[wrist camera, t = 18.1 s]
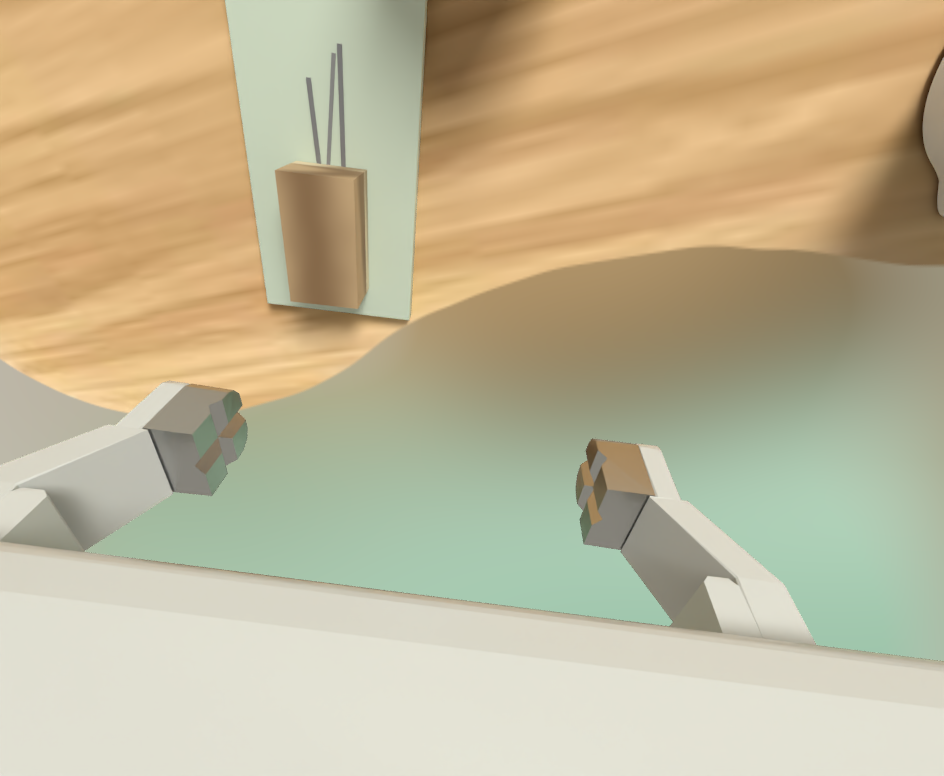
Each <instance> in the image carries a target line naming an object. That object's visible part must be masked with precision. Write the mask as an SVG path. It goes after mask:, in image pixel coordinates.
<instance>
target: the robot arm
mask: <svg viewBox="0 0 944 776" xmlns="http://www.w3.org/2000/svg"><path fill="white" fill-rule="evenodd" d="M923 141H924V146H925V150H926V153H927V156H928V158H929V160H930V162H931V164H932V166H933V167H934V169H935V171H936V173H937V176H938V179H939V186H938V197H937V206H938V212H939V214H940V215H941V216H943V217H944V57H943V59H942V61H941V63H940V65H939V68H938V70H937V72H936V74H935V77H934V79H933V82H932V84H931V87H930V90H929V94H928V97H927V101H926V105H925V110H924V117H923ZM241 406H242V402H241V398H240V395H239V393H237V392H236V391H234V390H228V389H222V388H215V387H209V386H203V385H196V384H188V383H181V382H175V381H167V382H163V383H161V384H160V385H159V386H158V387H157V388H156V389H155V390H154V391H153V392H151V393H150V394H149V395H148V396H147V397H146V398H145V399H144V400H143V401H142V402H140V403H139V404H138V405H137V406H136V407H135V408H134V409H133V410H132V411H131V412H129V413H128V414H127V415H126V416H125V417H124V418H123V419H122V420H121V421H120V422H118V423H117V424H116V425H105V426H102V427H100V428H97V429H95V430H92V431H89V432H87V433H84V434H81V435H79V436H76V437H73V438H71V439H68V440H65V441H63V442H60V443H58V444H55V445H52V446H50V447H47V448H44V449H42V450H39V451H36V452H34V453H31V454H29V455H26V456H23V457H20V458H18V459H15V460H13V461H10V462H7V463H5V464H2V465H0V776H944V661H938V660H930V659H922V658H914V657H905V656H897V655H890V654H882V653H874V652H866V651H858V650H850V649H841V648H834V647H826V646H818V645H816V643H815V641H814V639H813V638H812V636H811V634H810V632H809V630H808V628H807V627H806V624H805V623H804V621H803V619H802V617H801V615H800V613H799V611H798V609H797V607H796V606H795V604H794V602H793V600H792V598H791V596H790V594H789V592H788V590H787V589H786V587H785V585H784V584H783V583H782V582H781V581H780V580H778V579H777V578H776V577H775V576H774V575H773V574H771V573H770V572H769V571H768V570H767V569H766V568H765V567H763V566H762V565H761V564H760V563H759V562H757V561H756V560H755V559H754V558H753V557H752V556H751V555H750V554H748V553H747V552H746V551H745V550H744V549H743V548H742V547H740V546H739V545H738V544H737V543H736V542H734V541H733V540H732V539H731V538H730V537H729V536H728V535H726V534H725V533H724V532H723V531H722V530H721V529H720V528H718V527H717V526H716V525H715V524H714V523H713V522H711V521H710V520H709V519H708V518H707V517H706V516H704V515H703V514H702V513H701V512H700V511H699V510H698V509H696V508H695V507H694V506H693V505H692V504H691V503H689V502H688V501H684V500H681V498H680V496H679V493H678V491H677V489H676V486H675V484H674V481H673V479H672V476H671V474H670V472H669V469H668V467H667V464H666V462H665V459H664V457H663V454H662V452H661V450H660V448H659V447H657V446H653V445H644V444H631V443H623V442H615V441H608V440H600V439H591V441H590V442H589V444H588V446H587V449H586V455H587V461H586V462H584V463H582V464H581V465H580V468H579V471H578V475H577V481H576V499H577V504H578V505H579V506H580V507H581V509H582V510H583V512H582V515H581V518H580V525H581V530H582V537H583V543H584V544H586V545H593V546H599V547H605V548H611V549H618V550H621V553H622V554H623V556H624V557H625V558H626V560H627V561H628V562H629V564H630V565H631V566H632V568H633V569H634V570H635V572H636V573H637V574H638V576H639V577H640V578H641V580H642V581H643V582H644V584H645V585H646V586H647V588H648V589H649V590H650V592H651V593H652V594H653V596H654V597H655V598H656V600H657V601H658V602H659V604H660V605H661V606H662V608H663V609H664V610H665V612H666V613H667V615H668V616H669V617H670V619H671V620H672V621H673V623H672V624H671V625H670V626H662V625H654V624H646V623H639V622H631V621H623V620H615V619H607V618H599V617H591V616H583V615H576V614H568V613H560V612H552V611H543V610H535V609H529V608H520V607H513V606H505V605H497V604H489V603H481V602H472V601H465V600H457V599H449V598H441V597H432V596H425V595H417V594H410V593H402V592H394V591H385V590H378V589H370V588H363V587H355V586H347V585H339V584H331V583H324V582H316V581H308V580H300V579H292V578H285V577H276V576H268V575H261V574H253V573H245V572H237V571H229V570H222V569H214V568H206V567H198V566H190V565H182V564H175V563H167V562H158V561H151V560H143V559H135V558H128V557H120V556H112V555H103V554H96V553H88V552H85V550H86V549H88V548H90V547H91V546H93V545H94V544H96V543H97V542H99V541H100V540H102V539H104V538H105V537H107V536H108V535H110V534H112V533H113V532H114V531H116V530H118V529H119V528H121V527H122V526H124V525H125V524H127V523H129V522H130V521H132V520H133V519H135V518H136V517H138V516H139V515H141V514H143V513H144V512H146V511H147V510H149V509H150V508H152V507H153V506H155V505H157V504H158V503H160V502H161V501H162V500H164V499H166V498H167V497H169V496H170V495H172V494H173V492H180V493H189V494H200V495H210V496H212V495H213V494H214V492H215V491H216V489H217V488H218V487H219V485H220V484H221V482H222V481H223V480H224V478H225V477H226V475H227V474H228V473H227V469H226V465H228V464H229V463H231V462H233V461H235V460H237V459H238V458H239V456H240V455H241V453H242V451H243V450H244V447H245V444H246V440H247V423H246V420H245V419H244V418H243V417H242V416H241V415H240V414H239V413H238V410H239V409H240V408H241Z"/></svg>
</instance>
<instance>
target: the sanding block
mask: <svg viewBox="0 0 944 776" xmlns="http://www.w3.org/2000/svg"><path fill="white" fill-rule="evenodd" d="M275 177H276V185H277V194H278V202H279V210H280V218H281V226H282V235H283V243H284V251H285V259H286V268H287V276H288V284H289V292H290V301H291V302H300V303H309V304H318V305H327V306H336V307H345V308H354V309H358V308H359V306H360V304H361V302H362V300H363V299H364V297H365V295H366V293H367V291H368V289H369V260H368V197H367V170H365V169H357V168H350V167H342V166H334V165H326V164H318V163H310V162H302V161H294V162H292V163H290V164H288V165H285V166H283V167H281V168H278V169H276V170H275Z"/></svg>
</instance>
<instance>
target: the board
mask: <svg viewBox="0 0 944 776" xmlns="http://www.w3.org/2000/svg"><path fill="white" fill-rule="evenodd" d="M427 1H428V0H225V4H226V11H227V18H228V25H229V32H230V39H231V46H232V53H233V60H234V67H235V74H236V81H237V89H238V96H239V103H240V110H241V117H242V124H243V131H244V138H245V145H246V152H247V159H248V166H249V174H250V181H251V188H252V195H253V202H254V209H255V216H256V223H257V230H258V237H259V244H260V251H261V258H262V266H263V273H264V280H265V287H266V294H267V301H268V303H271V304H279V305H287V306H296V307H304V308H312V309H320V310H328V311H337V312H345V313H353V314H361V315H370V316H378V317H386V318H394V319H403V320H409V319H410V316H411V306H412V287H413V268H414V249H415V230H416V210H417V191H418V172H419V153H420V134H421V115H422V96H423V77H424V58H425V39H426V20H427ZM294 161H302V162H310V163H318V164H326V165H334V166H342V167H350V168H357V169H365V170H367V197H368V260H369V289H368V291H367V293H366V295H365V297H364V299H363V300H362V302H361V304H360V306H359V308H358V309H354V308H345V307H336V306H327V305H318V304H309V303H300V302H291V301H290V292H289V284H288V276H287V268H286V259H285V251H284V243H283V235H282V226H281V218H280V210H279V202H278V194H277V185H276V177H275V170H276V169H278V168H281V167H283V166H285V165H288V164H290V163H292V162H294Z"/></svg>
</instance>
